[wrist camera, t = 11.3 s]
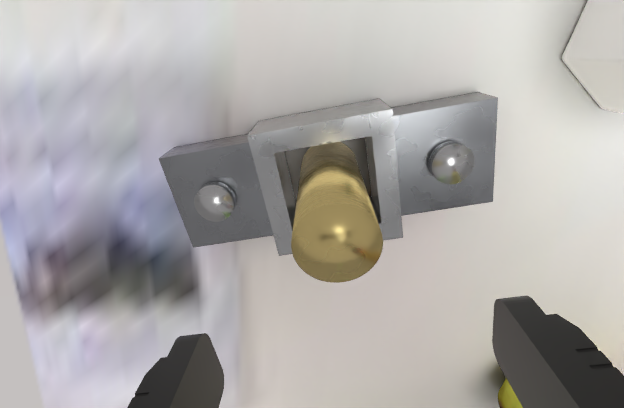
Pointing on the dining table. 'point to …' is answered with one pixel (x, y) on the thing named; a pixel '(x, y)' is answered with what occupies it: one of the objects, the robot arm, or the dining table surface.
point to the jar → (599, 53)
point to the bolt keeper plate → (328, 129)
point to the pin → (334, 217)
